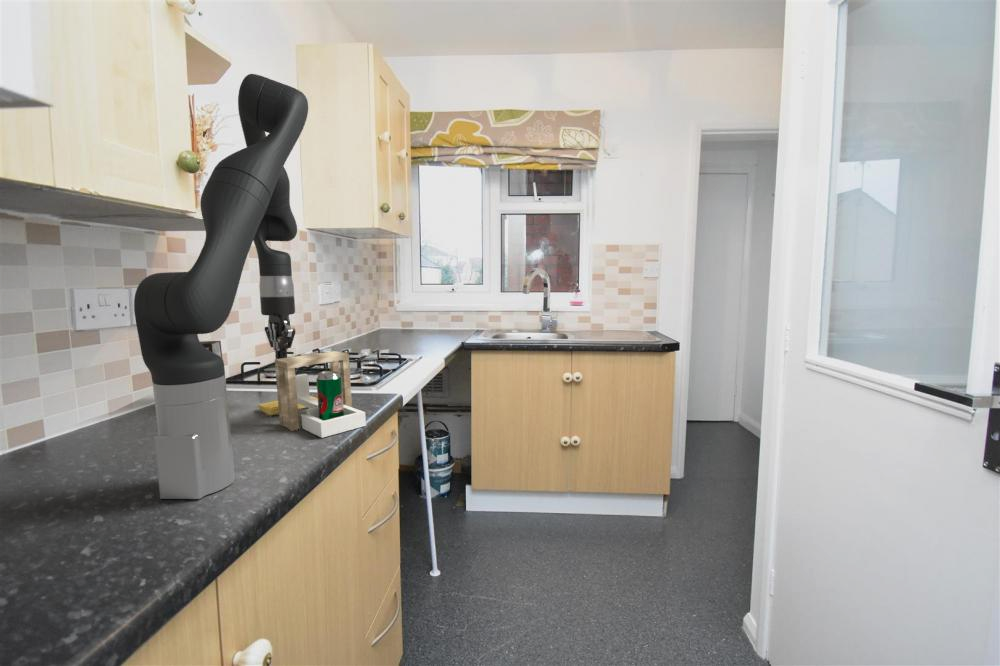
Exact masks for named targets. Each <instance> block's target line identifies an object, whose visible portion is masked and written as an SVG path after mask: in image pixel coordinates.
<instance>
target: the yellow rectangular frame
mask: <svg viewBox="0 0 1000 666" xmlns="http://www.w3.org/2000/svg"><path fill="white" fill-rule="evenodd" d="M310 398H313V399H315V400H318V397H315V396H312V395H310ZM297 404H298V403H297ZM305 408H308V407H305V406H303V405H300V404H298V410H299V411H301V410H300V409H303V410H306V409H305ZM260 411H261V412H260ZM258 412H260V413H262V412H263V413H262V414H264V413H265V414H264V415H266V414H267V415H266V416H268V415H269V416H268V417H270V416H272V417H274V416H273V415H276V416H278V415H277V414H279V407H278V400H274V401H270V402H264V403H259V404H258Z"/></svg>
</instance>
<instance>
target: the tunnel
mask: <svg viewBox="0 0 1000 666" xmlns="http://www.w3.org/2000/svg"><path fill="white" fill-rule="evenodd" d="M326 363H329V369H330V370H329V371H339V374H340V375H341V377H342V392H343V405H347V406H349V407H352V408H353V401H352V387H351V386H352V384H351V370H350V369H351V368H350V353H349V352H348V353H347V352H342V351H336V350H331V351H325V352H319V353H310V354H304V355H298V356H297V355H296V356H289V357H288V356H287V358H281V359H276V358H275V359H274V368H275V379H276V392H277V401H278V407H279V415H278V418H279V419H278V420H279V426H281V425H282V426H281V427H284V426H285V427H284V428H286V427H287V429H288V430H289V431H291V432H295V431H294V430H296V431H299V430H300V419H299V411H298V404H297V391H296V377H295V375H296V368H300V367H306V366H313V365H318V364H326ZM298 429H299V430H298Z"/></svg>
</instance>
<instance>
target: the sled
mask: <svg viewBox="0 0 1000 666" xmlns="http://www.w3.org/2000/svg"><path fill="white" fill-rule="evenodd" d="M295 377H296V391H297V403H298V404H300V405H303V406H305V407H308V409H306V413H304V414H300V415H301V426H302V427H301V428H302V429H303V430H305V431H307V432H309V433H311V434H313V435H316V436H318V437H319V438H326V437H330V436H333V435H337V434H341V433H345V432H348V431H352V430H355V429H359V428H362V427H366V426H367V419H366V411H363V410H360V409H358V408H355V407H353V406H352V407H349V406H347V405H343V407H344V416H341V417H337V418H333V419H329V420H325V421H323V420H321V419H319V410H318V400H315V399H313V398H310V396H311V395H310V385H309V374H307V373H301V374H295Z"/></svg>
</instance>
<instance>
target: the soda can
mask: <svg viewBox="0 0 1000 666" xmlns="http://www.w3.org/2000/svg"><path fill="white" fill-rule="evenodd" d="M339 373H340V370H339V371H330V370H324V371H321V372H319V373H317V377H316V381H315V382H316V393H317V398H318V410H319V419H321V420H323V421H325V420H329V419H333V418H337V417H341V416H344V407H343V392H342V377H341V373H340V374H339Z"/></svg>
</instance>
